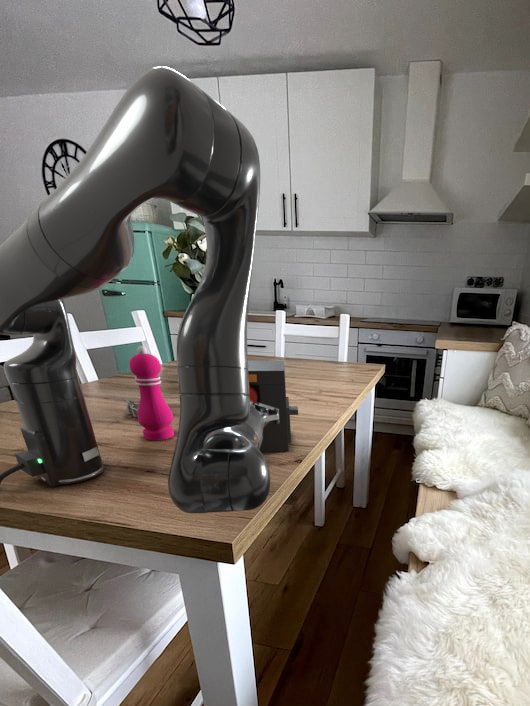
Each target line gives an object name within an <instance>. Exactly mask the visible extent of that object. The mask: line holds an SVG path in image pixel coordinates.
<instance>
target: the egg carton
mask: <svg viewBox="0 0 530 706" xmlns="http://www.w3.org/2000/svg"><path fill="white" fill-rule="evenodd" d="M123 401H126V402H127V405H126V410H127V413H128V415H132V416H133V417H135V418H138V417H137V414H138V408H139V404H140V399H139V400H138V403H135V402H134V401H133V399H127V398H124V399H123Z"/></svg>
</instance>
